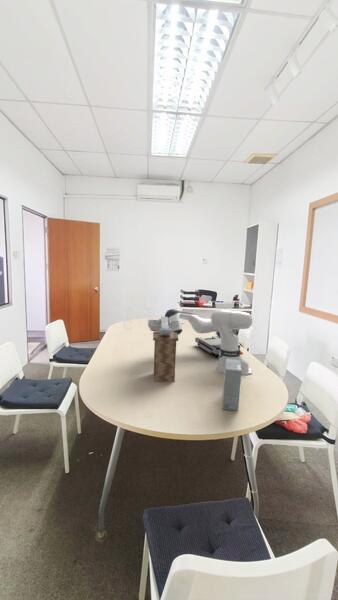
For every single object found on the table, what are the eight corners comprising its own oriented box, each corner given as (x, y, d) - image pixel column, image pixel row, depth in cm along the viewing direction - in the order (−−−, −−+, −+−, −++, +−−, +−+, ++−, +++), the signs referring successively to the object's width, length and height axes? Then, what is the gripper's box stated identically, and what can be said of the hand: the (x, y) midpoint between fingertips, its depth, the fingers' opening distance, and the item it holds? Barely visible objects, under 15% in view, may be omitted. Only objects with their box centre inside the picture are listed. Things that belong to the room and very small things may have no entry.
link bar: (168, 321, 179) (169, 314, 177) (170, 337, 158) (171, 330, 157) (159, 321, 178) (159, 314, 177) (160, 337, 158) (160, 329, 156)
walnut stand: (174, 373, 173) (176, 332, 169) (176, 382, 160) (178, 338, 156) (151, 373, 172) (153, 331, 168) (151, 382, 159) (153, 337, 156)
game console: (216, 344, 239) (217, 334, 238) (239, 356, 210) (240, 345, 209) (194, 345, 231) (195, 336, 230) (215, 359, 202) (216, 348, 201)
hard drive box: (238, 411, 132) (241, 371, 129) (221, 409, 133) (224, 369, 130) (237, 396, 147) (240, 359, 144) (222, 394, 148) (225, 358, 145)
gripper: (178, 331, 187) (180, 325, 174) (147, 330, 186) (147, 324, 173) (178, 322, 189) (180, 315, 176) (148, 321, 188) (148, 314, 175)
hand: (164, 320), depth 175 cm, fingers closed on link bar, 4 cm apart
